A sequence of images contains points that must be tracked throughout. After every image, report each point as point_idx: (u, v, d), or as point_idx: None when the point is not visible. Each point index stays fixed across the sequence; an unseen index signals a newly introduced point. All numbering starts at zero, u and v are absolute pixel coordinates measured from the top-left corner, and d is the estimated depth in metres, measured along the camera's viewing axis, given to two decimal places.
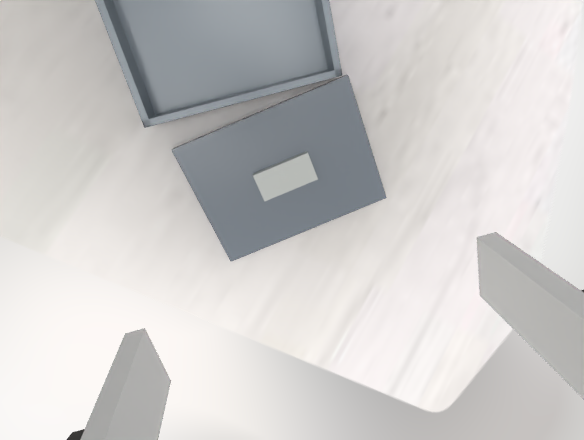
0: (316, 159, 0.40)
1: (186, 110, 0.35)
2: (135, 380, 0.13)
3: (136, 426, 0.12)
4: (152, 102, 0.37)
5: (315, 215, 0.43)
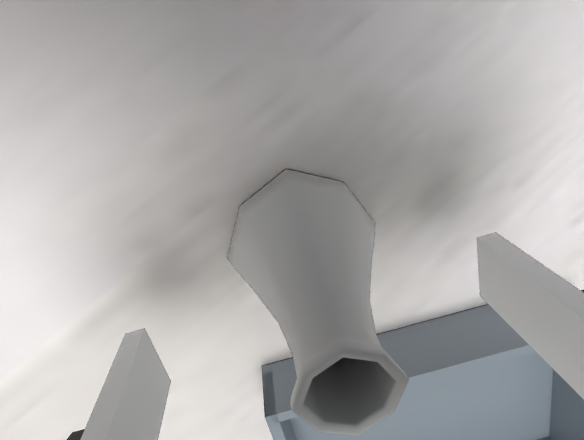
0: None
1: None
2: (135, 380, 0.13)
3: (136, 426, 0.12)
4: None
5: None
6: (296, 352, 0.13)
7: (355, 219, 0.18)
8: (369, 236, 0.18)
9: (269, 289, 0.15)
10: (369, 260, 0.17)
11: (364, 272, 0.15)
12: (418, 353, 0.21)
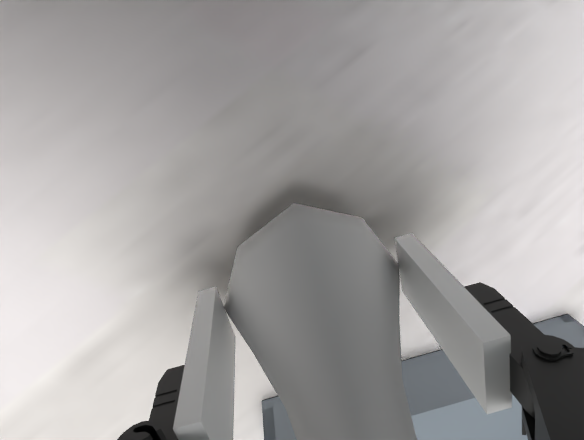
0: None
1: None
2: (216, 327, 0.14)
3: (221, 365, 0.14)
4: None
5: None
6: None
7: (378, 264, 0.15)
8: (394, 284, 0.15)
9: (273, 360, 0.12)
10: (396, 318, 0.14)
11: (393, 338, 0.12)
12: (424, 388, 0.20)
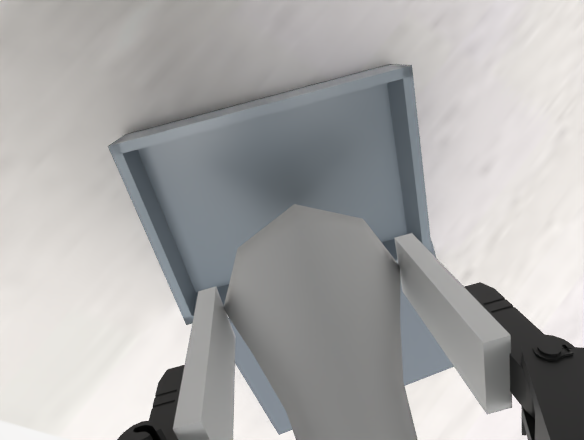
0: None
1: None
2: (216, 327, 0.14)
3: (221, 365, 0.14)
4: (193, 280, 0.30)
5: None
6: None
7: (379, 266, 0.14)
8: (395, 286, 0.15)
9: (274, 363, 0.12)
10: (397, 320, 0.13)
11: (394, 340, 0.12)
12: (252, 105, 0.24)
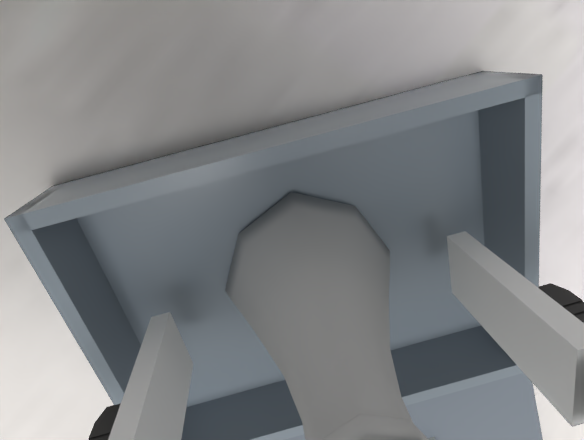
0: None
1: None
2: (164, 359, 0.13)
3: (166, 402, 0.13)
4: None
5: None
6: (307, 419, 0.11)
7: (369, 249, 0.16)
8: (384, 267, 0.16)
9: (273, 334, 0.13)
10: (386, 297, 0.15)
11: (382, 314, 0.13)
12: (260, 141, 0.14)
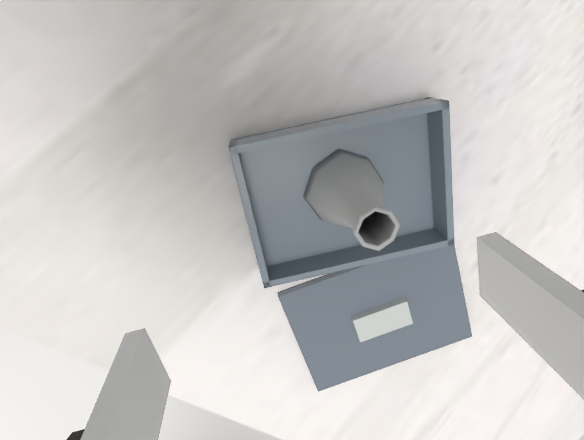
0: (412, 304, 0.42)
1: (305, 273, 0.36)
2: (135, 380, 0.13)
3: (136, 426, 0.12)
4: (266, 255, 0.38)
5: (403, 351, 0.44)
6: (352, 220, 0.29)
7: (375, 175, 0.34)
8: (381, 185, 0.35)
9: (334, 202, 0.32)
10: (382, 194, 0.33)
11: (380, 196, 0.32)
12: (330, 123, 0.33)
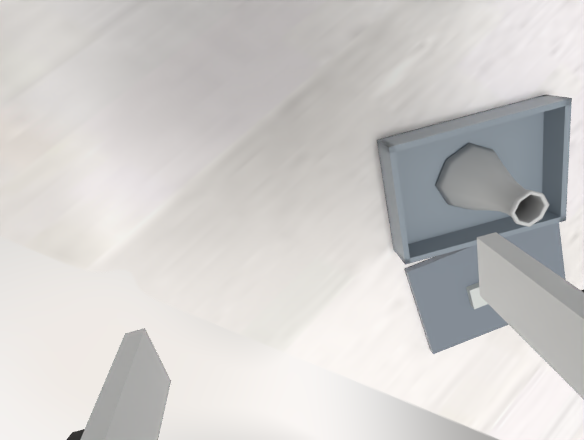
0: None
1: (440, 250, 0.42)
2: (135, 380, 0.13)
3: (136, 426, 0.12)
4: None
5: None
6: (502, 203, 0.35)
7: None
8: None
9: (477, 188, 0.38)
10: None
11: None
12: (468, 121, 0.39)
